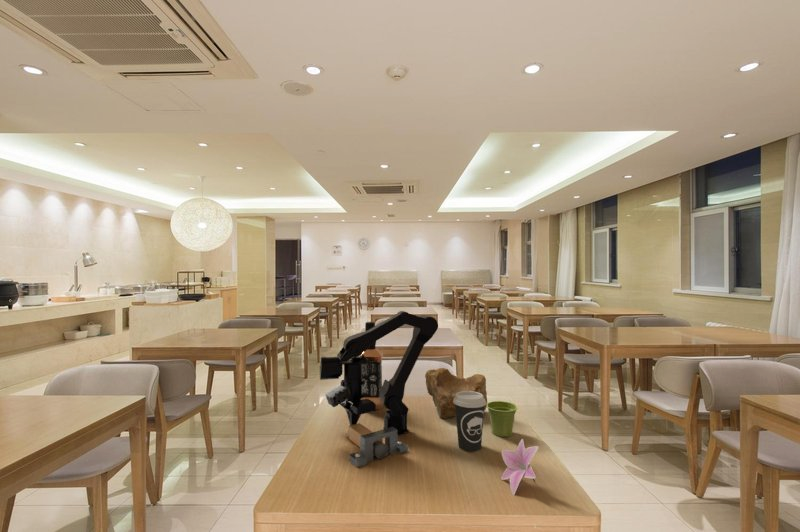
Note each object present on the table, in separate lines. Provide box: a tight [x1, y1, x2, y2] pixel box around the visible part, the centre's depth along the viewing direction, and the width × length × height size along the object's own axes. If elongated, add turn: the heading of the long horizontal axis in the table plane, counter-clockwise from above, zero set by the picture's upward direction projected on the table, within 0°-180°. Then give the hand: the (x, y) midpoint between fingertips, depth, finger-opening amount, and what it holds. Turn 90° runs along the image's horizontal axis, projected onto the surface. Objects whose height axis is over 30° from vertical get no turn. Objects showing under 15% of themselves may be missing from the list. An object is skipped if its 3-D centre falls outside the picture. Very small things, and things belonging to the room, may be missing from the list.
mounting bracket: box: [348, 427, 409, 468], centre depth 105 cm, size 5×16×6 cm, turn 125°
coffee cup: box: [453, 391, 486, 453], centre depth 110 cm, size 10×10×15 cm
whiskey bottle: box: [358, 321, 384, 410], centre depth 147 cm, size 10×10×32 cm
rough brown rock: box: [424, 367, 488, 419], centre depth 136 cm, size 23×17×15 cm
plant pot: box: [486, 400, 518, 438], centre depth 120 cm, size 9×9×9 cm
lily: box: [500, 438, 539, 496], centre depth 90 cm, size 12×12×10 cm
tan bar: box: [348, 422, 389, 460], centre depth 110 cm, size 17×4×4 cm, turn 34°
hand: (352, 427), depth 118 cm, fingers closed
